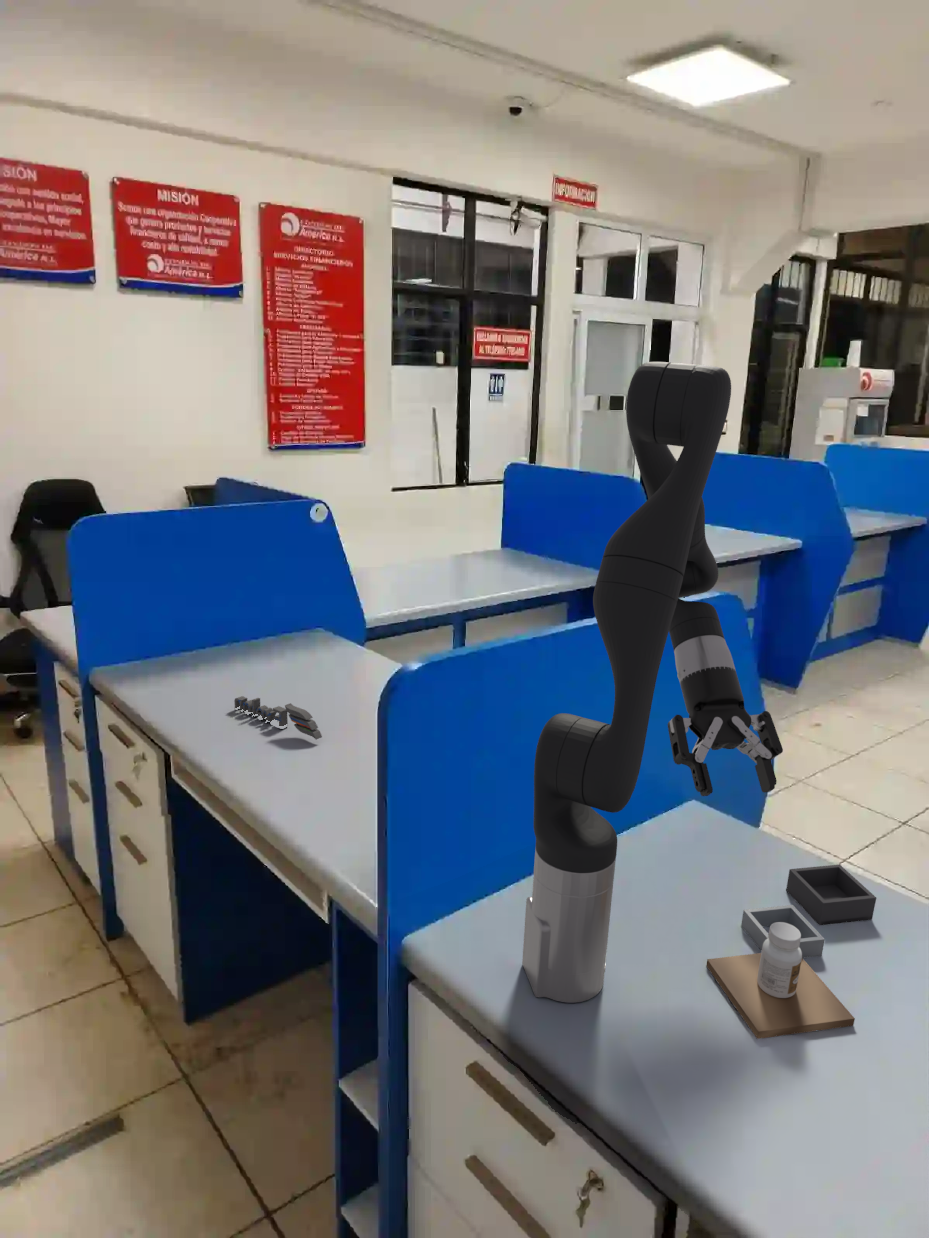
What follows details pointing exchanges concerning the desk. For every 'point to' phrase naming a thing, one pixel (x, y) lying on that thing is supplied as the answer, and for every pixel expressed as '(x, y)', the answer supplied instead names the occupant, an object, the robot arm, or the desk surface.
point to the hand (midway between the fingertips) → (738, 792)
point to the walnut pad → (778, 999)
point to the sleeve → (788, 914)
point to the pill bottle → (780, 961)
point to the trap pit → (830, 894)
